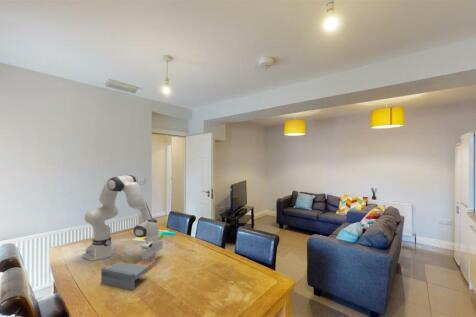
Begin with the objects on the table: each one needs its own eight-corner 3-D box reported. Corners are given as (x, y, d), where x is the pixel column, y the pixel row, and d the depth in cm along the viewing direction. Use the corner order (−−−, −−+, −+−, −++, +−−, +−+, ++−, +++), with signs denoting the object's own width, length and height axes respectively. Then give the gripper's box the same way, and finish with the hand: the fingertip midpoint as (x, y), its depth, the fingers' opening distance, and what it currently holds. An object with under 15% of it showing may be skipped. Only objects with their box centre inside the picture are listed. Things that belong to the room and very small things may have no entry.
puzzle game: (131, 243, 197) (161, 245, 191) (131, 240, 197) (161, 242, 191) (151, 232, 227) (177, 234, 221) (151, 229, 227) (177, 231, 221)
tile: (130, 273, 145) (130, 268, 145) (143, 263, 159) (143, 258, 159) (143, 274, 143) (143, 269, 143) (155, 264, 157) (155, 260, 157)
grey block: (101, 283, 133) (101, 268, 133) (118, 272, 145) (118, 259, 145) (132, 290, 125) (132, 275, 125) (147, 278, 138) (147, 264, 138)
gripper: (158, 236, 170) (158, 253, 170) (139, 246, 151) (139, 265, 151) (164, 237, 168) (164, 254, 168) (146, 247, 149) (146, 266, 149)
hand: (152, 259), depth 159 cm, fingers closed
